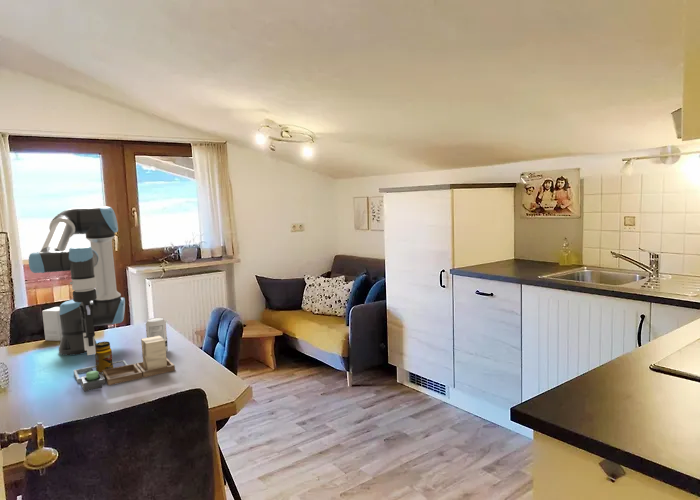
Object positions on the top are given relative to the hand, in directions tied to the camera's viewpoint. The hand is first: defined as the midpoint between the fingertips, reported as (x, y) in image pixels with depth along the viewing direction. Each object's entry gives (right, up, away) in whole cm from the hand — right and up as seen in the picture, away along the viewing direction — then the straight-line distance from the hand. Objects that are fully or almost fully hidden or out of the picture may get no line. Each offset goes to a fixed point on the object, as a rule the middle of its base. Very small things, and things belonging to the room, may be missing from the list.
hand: (90, 351), depth 184 cm
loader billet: (+18, -10, +14) cm, 25 cm away
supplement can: (+10, -8, +38) cm, 40 cm away
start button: (0, -10, +1) cm, 10 cm away
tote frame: (-3, -11, +15) cm, 19 cm away
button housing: (0, -13, +2) cm, 13 cm away
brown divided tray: (+14, -11, +10) cm, 21 cm away
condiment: (-3, -12, +15) cm, 19 cm away
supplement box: (-49, -7, +66) cm, 83 cm away
